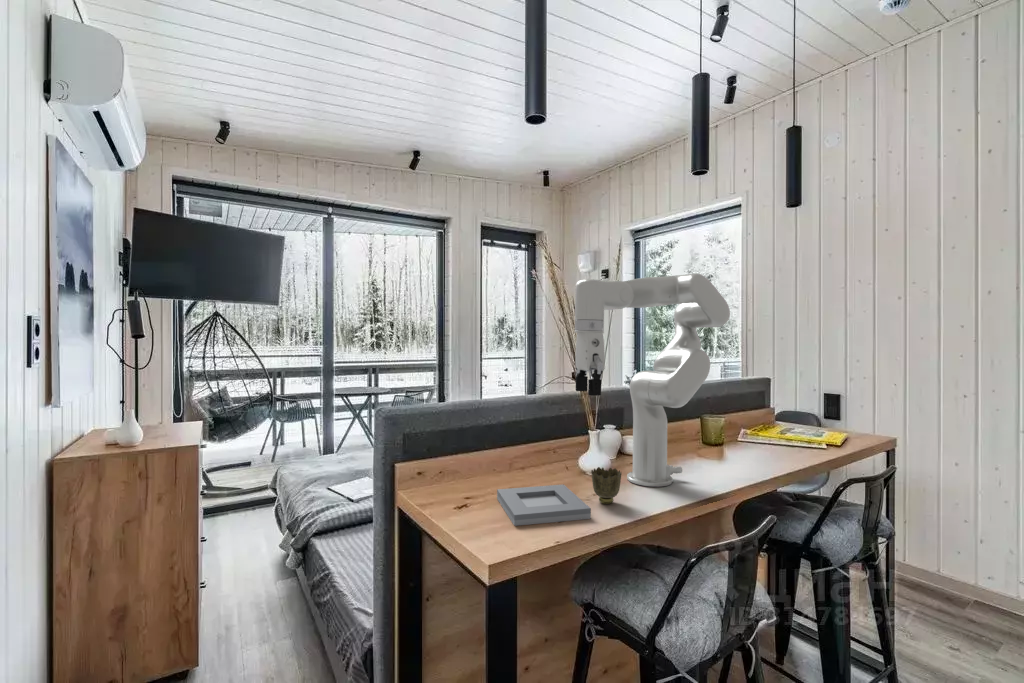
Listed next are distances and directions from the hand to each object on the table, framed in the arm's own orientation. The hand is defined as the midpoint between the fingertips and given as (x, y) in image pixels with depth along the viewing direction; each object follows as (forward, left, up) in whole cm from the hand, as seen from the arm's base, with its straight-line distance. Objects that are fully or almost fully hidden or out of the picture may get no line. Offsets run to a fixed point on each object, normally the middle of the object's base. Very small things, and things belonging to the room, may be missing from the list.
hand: (587, 393), depth 127 cm
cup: (-3, +6, -27) cm, 28 cm away
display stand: (+14, +6, -27) cm, 31 cm away
